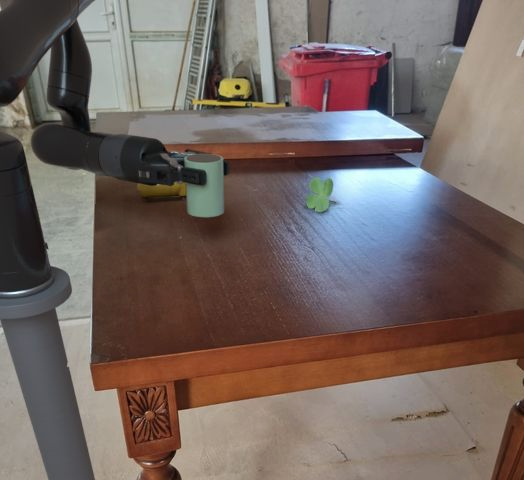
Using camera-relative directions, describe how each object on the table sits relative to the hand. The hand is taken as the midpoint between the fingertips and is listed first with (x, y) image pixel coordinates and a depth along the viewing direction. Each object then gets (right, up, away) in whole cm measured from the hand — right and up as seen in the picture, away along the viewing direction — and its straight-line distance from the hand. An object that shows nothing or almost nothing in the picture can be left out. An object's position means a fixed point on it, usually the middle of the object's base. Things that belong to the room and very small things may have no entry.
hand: (216, 173), depth 83 cm
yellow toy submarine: (-14, +4, +29) cm, 32 cm away
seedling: (+20, +1, +25) cm, 32 cm away
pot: (-2, -5, +4) cm, 7 cm away
